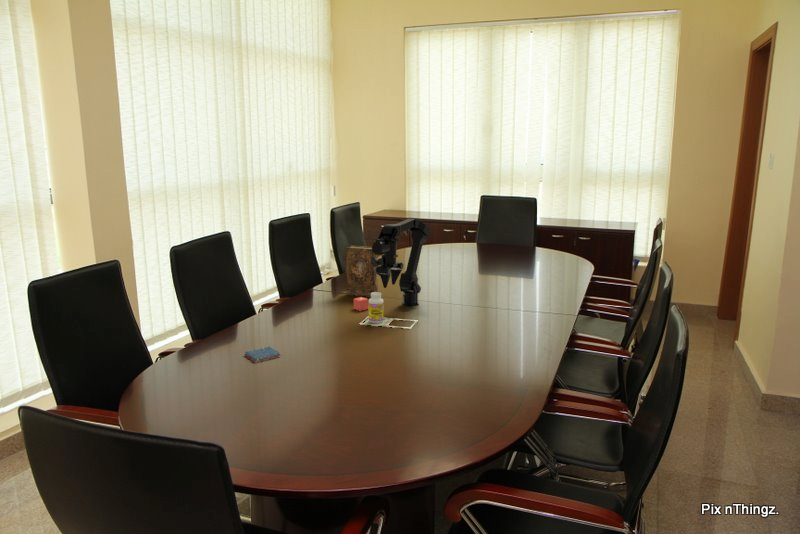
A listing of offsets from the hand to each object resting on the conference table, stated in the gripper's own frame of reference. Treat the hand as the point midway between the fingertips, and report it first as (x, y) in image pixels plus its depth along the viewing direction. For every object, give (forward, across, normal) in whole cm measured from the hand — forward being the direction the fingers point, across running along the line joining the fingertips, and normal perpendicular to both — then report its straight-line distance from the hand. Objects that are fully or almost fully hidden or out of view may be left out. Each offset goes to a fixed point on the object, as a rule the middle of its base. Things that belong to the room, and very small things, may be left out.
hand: (389, 286), depth 279 cm
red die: (+13, -1, -15) cm, 20 cm away
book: (+12, -25, -26) cm, 38 cm away
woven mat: (+18, +69, -20) cm, 74 cm away
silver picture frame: (+14, +14, +6) cm, 20 cm away
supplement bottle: (+14, +14, +1) cm, 20 cm away
